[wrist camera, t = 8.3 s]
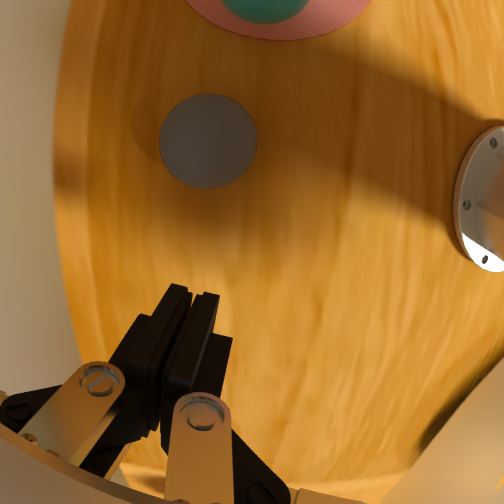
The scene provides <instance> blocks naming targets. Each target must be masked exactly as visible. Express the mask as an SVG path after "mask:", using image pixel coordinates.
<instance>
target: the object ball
mask: <svg viewBox="0 0 504 504" xmlns="http://www.w3.org/2000/svg"><path fill="white" fill-rule="evenodd" d="M221 1H222V3H223V4H224V6H225V7H226V8H227V9H228V10H229V11H230V12H231V13H233V14H234V15H235V16H237V17H239V18H241V19H243V20H245V21H249V22H252V23H257V24H274V23H279V22H283V21H286V20H288V19H290V18H292V17H294V16H295V15H297V14H298V13H299V12H301V11H302V10H303V9H304V7H305V6H306V5H307V3H308V2H309V0H221Z"/></svg>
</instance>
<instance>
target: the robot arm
mask: <svg viewBox="0 0 504 504" xmlns="http://www.w3.org/2000/svg"><path fill="white" fill-rule="evenodd" d="M453 217H454V225H455V231H456V235H457V238H458V240H459V243H460V246H461V248H462V249H463V251H464V252H465V254H466V255H467V256H468V257H469V258H470V259H471V260H472V261H473V262H474V263H475V264H476V265H478V266H479V267H480V268H482V269H485V270H487V271H491V272H500V271H504V125H502V126H496V127H493V128H491V129H489V130H487V131H485V132H484V133H483V134H481V135H480V136H479V137H478V138H477V139H476V140H475V142H474V143H473V144H472V145H471V147H470V148H469V150H468V152H467V154H466V155H465V157H464V159H463V161H462V164H461V167H460V170H459V173H458V175H457V180H456V185H455V190H454V200H453ZM192 296H193V293H191V292H188V288H187V287H185V286H181V285H177V284H173V283H172V284H171V285H170V286H169V288H168V290H167V291H166V293H165V294H164V296H163V298H162V299H161V301H160V302H159V304H158V306H157V307H156V309H155V311H154V312H153V314H152V316H148V315H145V314H142V313H141V314H139V315H138V317H137V318H136V320H135V321H134V323H133V324H132V326H131V327H130V329H129V330H128V332H127V333H126V335H125V336H124V338H123V339H122V341H121V343H120V344H119V346H118V347H117V349H116V350H115V352H114V354H113V355H112V357H111V358H110V360H109V361H108V363H107V362H101V361H95V362H89V363H87V364H84V365H83V366H81V367H80V368H79V369H78V370H77V371H76V372H75V373H74V374H73V375H72V376H71V377H70V378H69V379H68V380H67V381H66V382H65V383H64V384H62V385H58V386H53V387H49V388H44V389H39V390H34V391H29V392H24V393H19V394H15V395H12V396H7V394H6V392H4V391H1V390H0V504H366V503H364V502H361V501H356V500H350V499H345V498H340V497H335V496H331V495H327V494H322V493H318V492H314V491H310V490H306V489H303V488H300V489H299V490H296V489H293V488H289V487H287V486H286V485H285V483H284V482H283V481H282V480H281V479H280V478H279V477H278V476H277V475H276V474H275V473H274V472H273V471H272V470H271V469H270V468H269V467H268V466H267V465H266V464H265V463H264V462H263V461H262V460H261V459H260V458H259V457H258V456H257V455H256V454H255V453H254V452H253V451H252V450H251V449H250V448H249V447H248V446H247V445H246V443H245V442H244V441H243V440H242V439H241V438H240V437H239V436H238V435H237V434H236V433H235V431H234V430H233V429H232V428H231V414H230V410H229V408H228V407H227V405H226V403H224V402H223V401H222V400H221V399H220V396H221V391H222V386H223V382H224V377H225V373H226V368H227V363H228V359H229V354H230V349H231V345H232V340H233V338H231V337H227V336H223V335H219V334H215V333H213V329H214V324H215V319H216V314H217V309H218V304H219V298H220V295H217V294H212V293H208V292H204V293H203V295H199V294H197V295H196V297H195V299H194V301H193V304H192V306H191V303H192ZM159 422H160V433H161V447H162V448H163V450H164V451H165V453H166V454H167V456H168V461H167V471H166V481H165V491H164V499H161V498H158V497H155V496H152V495H148V494H145V493H142V492H139V491H136V490H133V489H130V488H127V487H125V486H122V485H119V484H117V483H114V482H111V481H109V480H110V479H111V477H112V476H113V474H114V472H115V471H116V469H117V468H118V466H119V465H120V463H121V462H122V460H123V458H124V457H125V455H126V454H127V452H128V450H129V449H130V446H131V444H132V442H135V441H138V440H141V437H142V436H143V437H146V438H147V437H148V435H149V432H150V430H152V431H156V430H157V427H158V425H159Z"/></svg>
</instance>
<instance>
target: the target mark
mask: <svg viewBox="0 0 504 504" xmlns="http://www.w3.org/2000/svg"><path fill="white" fill-rule="evenodd" d="M186 1H187V2H188V3H189V4H190V6H191V7H192V8H193V9H194V10H195V11H196V12H198V13H199V14H200V15H201V16H202V17H204V18H205V19H207V20H208V21H210V22H211V23H213V24H215V25H217V26H219V27H221V28H223V29H226V30H229V31H231V32H234V33H237V34H241V35H245V36H248V37H253V38H259V39H267V40H298V39H307V38H311V37H316V36H320V35H323V34H326V33H329V32H332V31H334V30H336V29H339V28H341V27H343V26H344V25H346V24H347V23H349V22H351V21H352V20H353V19H354V18H356V17H357V16H358V15H359V14H360V13H361V12H362V11H363V10H364V8H365V7H366V6H367V4H368V3H369V1H370V0H309V2H308V3H307V5H306V6H305V7H304V9H303V10H302V11H301V12H299V13H298V14H297V15H295V16H294V17H292V18H290V19H288V20H286V21H283V22H279V23H274V24H257V23H252V22H249V21H245V20H243V19H241V18H239V17H237V16H235V15H234V14H233V13H231V12H230V11H229V10H228V9H227V8H226V7H225V6H224V4H223V3H222V1H221V0H186Z"/></svg>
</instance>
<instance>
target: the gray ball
mask: <svg viewBox="0 0 504 504" xmlns="http://www.w3.org/2000/svg"><path fill="white" fill-rule="evenodd" d="M256 147H257V134H256V129H255V126H254V123H253V121H252V119H251V117H250V115H249V114H248V112H247V111H246V110H245V109H244V108H243V107H242V106H241V105H240V104H239V103H237V102H236V101H234V100H232V99H230V98H228V97H225V96H222V95H217V94H201V95H197V96H193V97H190V98H188V99H186V100H184V101H183V102H181V103H179V104H178V105H177V106H176V107H175V108H174V109H173V110H172V111H171V112H170V113H169V114H168V116H167V117H166V119H165V121H164V123H163V125H162V128H161V131H160V137H159V149H160V154H161V157H162V160H163V162H164V164H165V166H166V167H167V169H168V170H169V172H170V173H171V174H172V175H173V176H174V177H175V178H177V179H178V180H179V181H181V182H182V183H184V184H186V185H188V186H191V187H194V188H200V189H214V188H219V187H223V186H225V185H228V184H230V183H232V182H233V181H235V180H236V179H238V178H239V177H240V176H241V175H242V174H243V173H244V172H245V171H246V170H247V168H248V167H249V166H250V164H251V162H252V160H253V158H254V155H255V152H256Z"/></svg>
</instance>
